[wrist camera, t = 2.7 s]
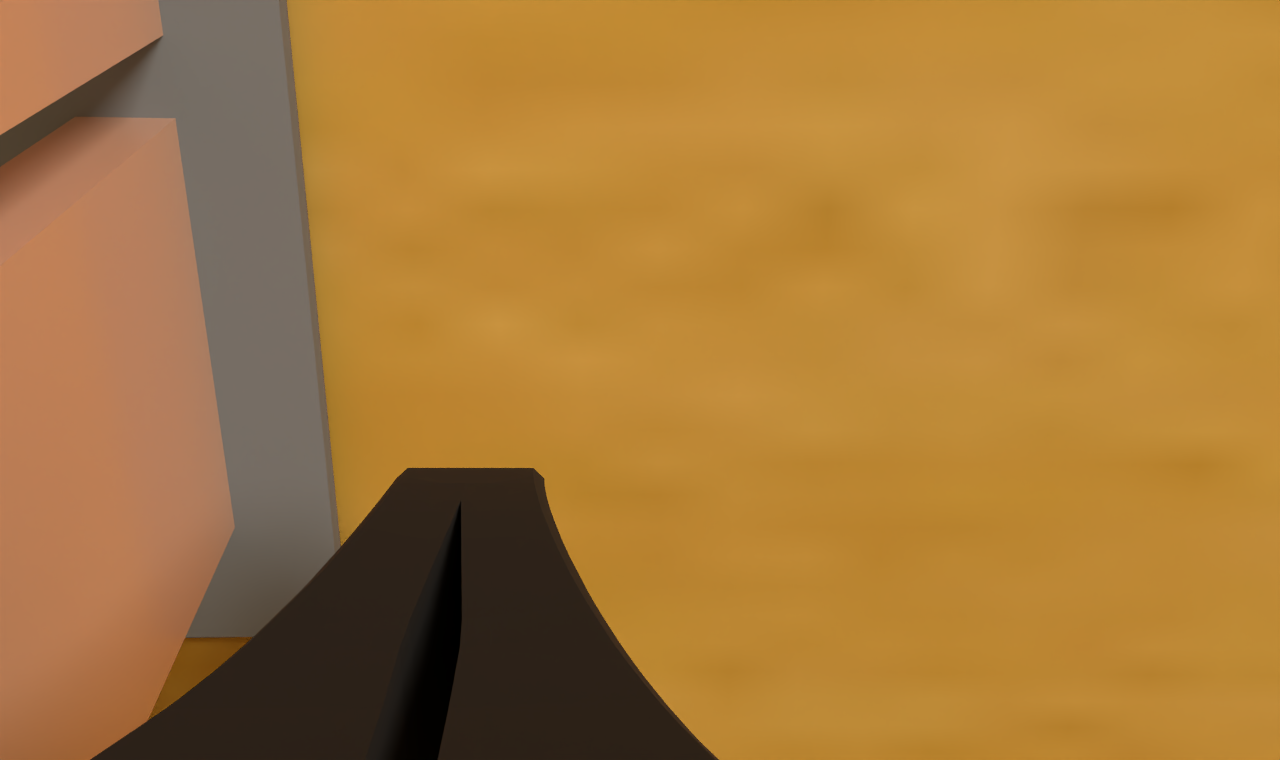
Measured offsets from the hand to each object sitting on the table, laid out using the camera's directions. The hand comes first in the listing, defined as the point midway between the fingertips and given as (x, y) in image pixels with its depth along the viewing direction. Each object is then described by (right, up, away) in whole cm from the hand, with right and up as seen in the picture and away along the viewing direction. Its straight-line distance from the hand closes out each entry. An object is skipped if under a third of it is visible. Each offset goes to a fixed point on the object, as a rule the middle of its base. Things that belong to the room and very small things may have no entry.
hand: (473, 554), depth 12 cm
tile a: (-5, +2, +4) cm, 7 cm away
